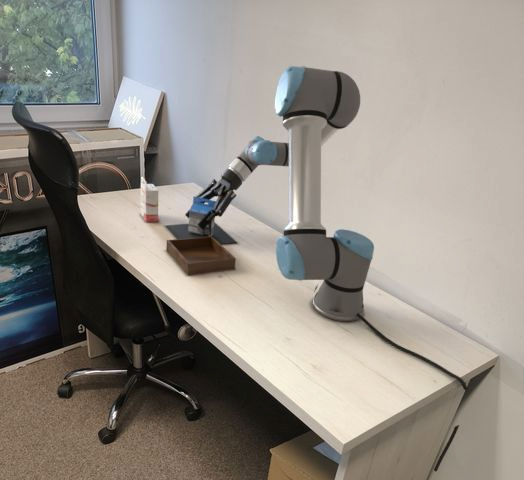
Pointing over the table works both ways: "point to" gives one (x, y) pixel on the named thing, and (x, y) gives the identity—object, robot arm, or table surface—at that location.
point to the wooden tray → (200, 255)
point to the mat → (218, 235)
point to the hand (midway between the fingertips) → (193, 222)
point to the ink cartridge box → (149, 201)
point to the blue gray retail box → (200, 216)
